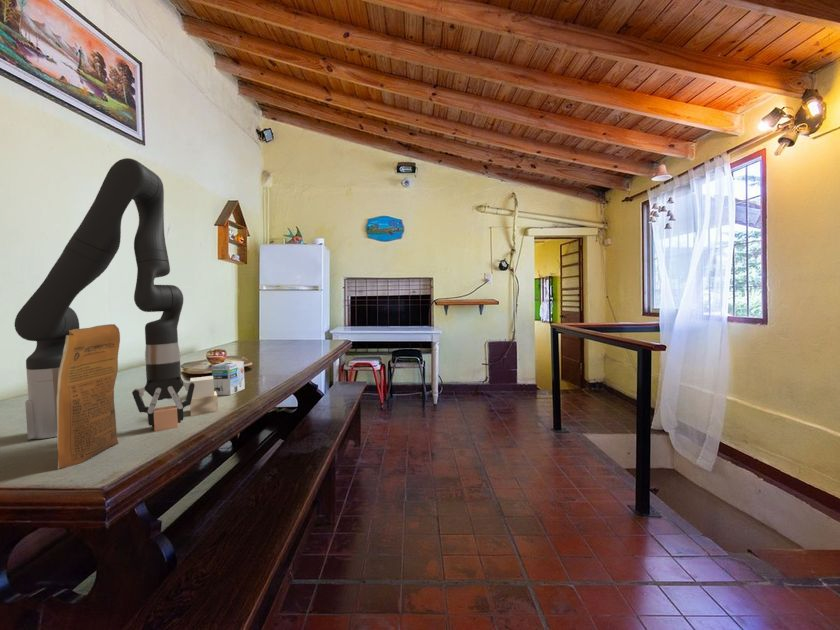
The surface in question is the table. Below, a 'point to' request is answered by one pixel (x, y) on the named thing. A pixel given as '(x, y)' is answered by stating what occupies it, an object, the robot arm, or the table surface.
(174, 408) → the terracotta block
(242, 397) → the table surface
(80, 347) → the pancake mix bag
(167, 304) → the robot arm
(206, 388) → the tower top block
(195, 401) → the tower base block
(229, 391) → the light bulb box
